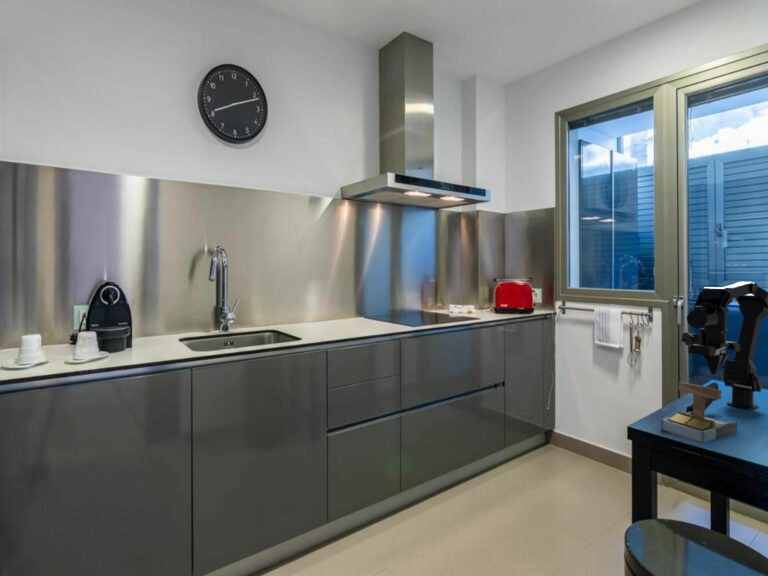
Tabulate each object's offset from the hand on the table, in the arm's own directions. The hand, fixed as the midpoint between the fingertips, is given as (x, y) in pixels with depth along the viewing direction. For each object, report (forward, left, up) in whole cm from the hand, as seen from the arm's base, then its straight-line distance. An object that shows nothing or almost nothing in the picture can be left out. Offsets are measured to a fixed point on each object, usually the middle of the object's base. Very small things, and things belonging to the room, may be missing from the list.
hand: (713, 374), depth 134 cm
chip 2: (+24, +8, -12) cm, 28 cm away
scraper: (+20, +6, -11) cm, 24 cm away
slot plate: (+16, +6, -13) cm, 22 cm away
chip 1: (+24, +4, -12) cm, 27 cm away
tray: (+25, +6, -13) cm, 29 cm away
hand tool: (+2, -1, -10) cm, 11 cm away
